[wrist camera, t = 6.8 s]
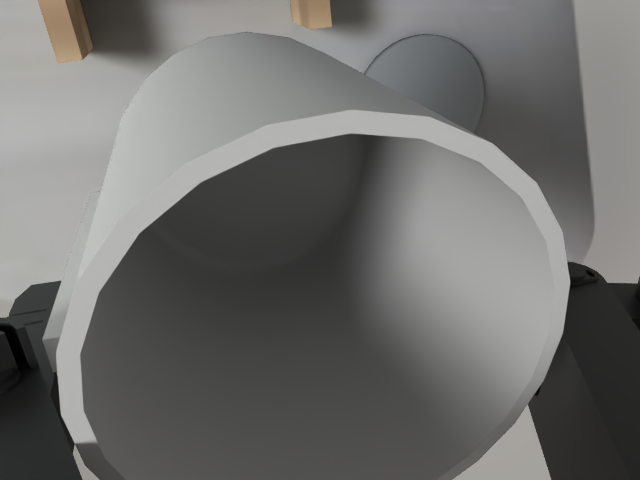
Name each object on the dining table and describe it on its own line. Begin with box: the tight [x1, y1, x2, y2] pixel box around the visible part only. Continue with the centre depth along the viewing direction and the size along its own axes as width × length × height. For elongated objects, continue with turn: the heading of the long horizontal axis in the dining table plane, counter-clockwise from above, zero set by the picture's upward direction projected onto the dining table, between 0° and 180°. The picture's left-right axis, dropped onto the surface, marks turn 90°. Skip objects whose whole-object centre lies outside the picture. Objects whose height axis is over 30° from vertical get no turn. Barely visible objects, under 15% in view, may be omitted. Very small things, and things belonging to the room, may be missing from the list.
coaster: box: [364, 34, 484, 133], centre depth 31 cm, size 8×8×1 cm
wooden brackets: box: [38, 0, 332, 63], centre depth 27 cm, size 15×12×4 cm
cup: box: [56, 32, 570, 480], centre depth 12 cm, size 7×10×9 cm
